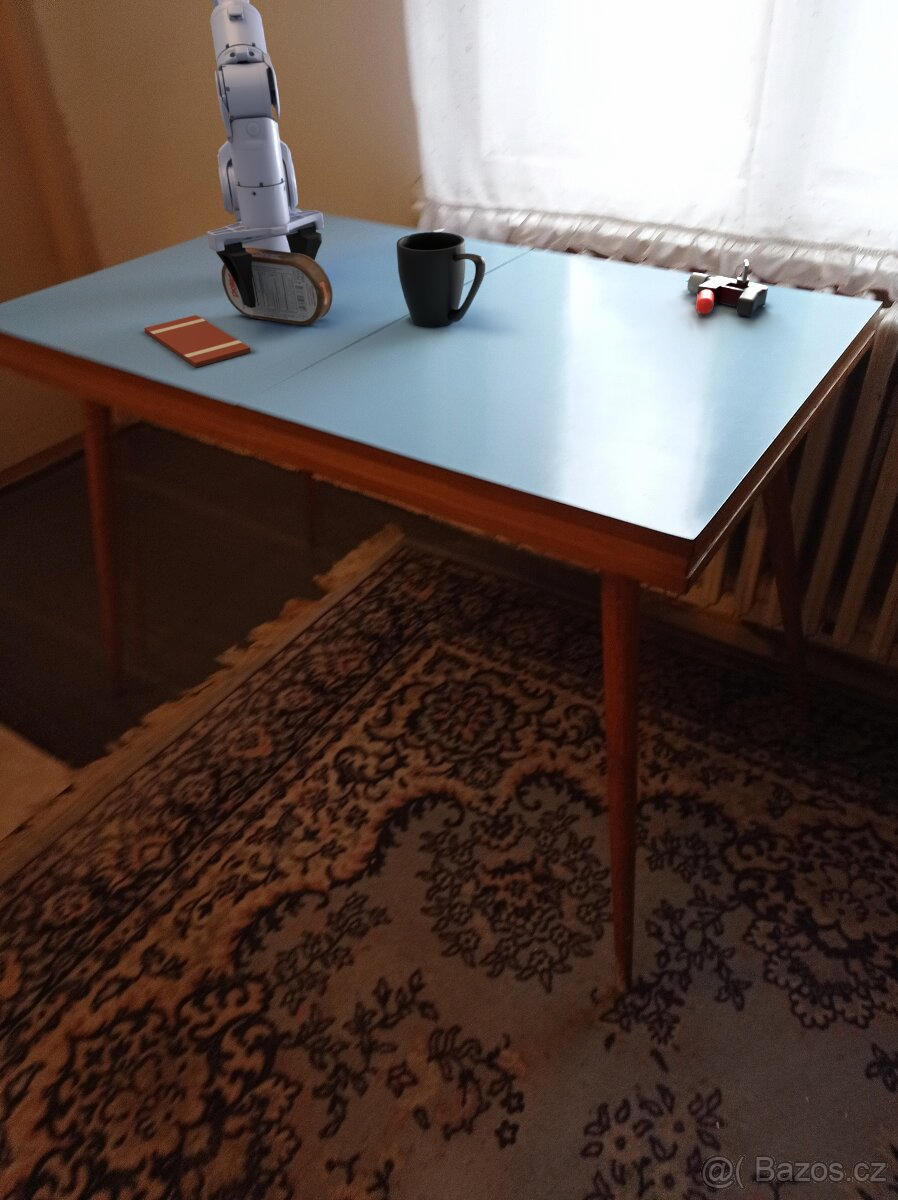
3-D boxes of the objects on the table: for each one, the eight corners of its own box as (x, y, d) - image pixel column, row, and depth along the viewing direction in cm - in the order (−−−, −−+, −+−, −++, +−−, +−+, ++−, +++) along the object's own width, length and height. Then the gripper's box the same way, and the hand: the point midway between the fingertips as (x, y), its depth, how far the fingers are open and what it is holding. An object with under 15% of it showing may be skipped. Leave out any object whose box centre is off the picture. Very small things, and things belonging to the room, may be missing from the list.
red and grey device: (690, 286, 121) (695, 249, 118) (775, 304, 114) (782, 265, 111) (651, 306, 115) (655, 267, 112) (738, 326, 109) (745, 286, 106)
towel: (196, 319, 116) (195, 314, 116) (251, 352, 107) (250, 347, 106) (145, 332, 113) (143, 327, 113) (196, 367, 103) (194, 362, 103)
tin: (337, 323, 114) (329, 254, 109) (324, 331, 112) (316, 261, 106) (238, 309, 119) (227, 242, 114) (224, 317, 117) (212, 249, 112)
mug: (458, 343, 107) (456, 260, 101) (387, 321, 114) (381, 243, 108) (503, 323, 112) (503, 244, 106) (432, 303, 118) (429, 227, 113)
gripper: (218, 198, 100) (239, 320, 108) (331, 177, 106) (343, 293, 114) (191, 188, 104) (213, 305, 112) (301, 168, 111) (314, 280, 119)
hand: (277, 298), depth 114 cm, fingers open, 7 cm apart
